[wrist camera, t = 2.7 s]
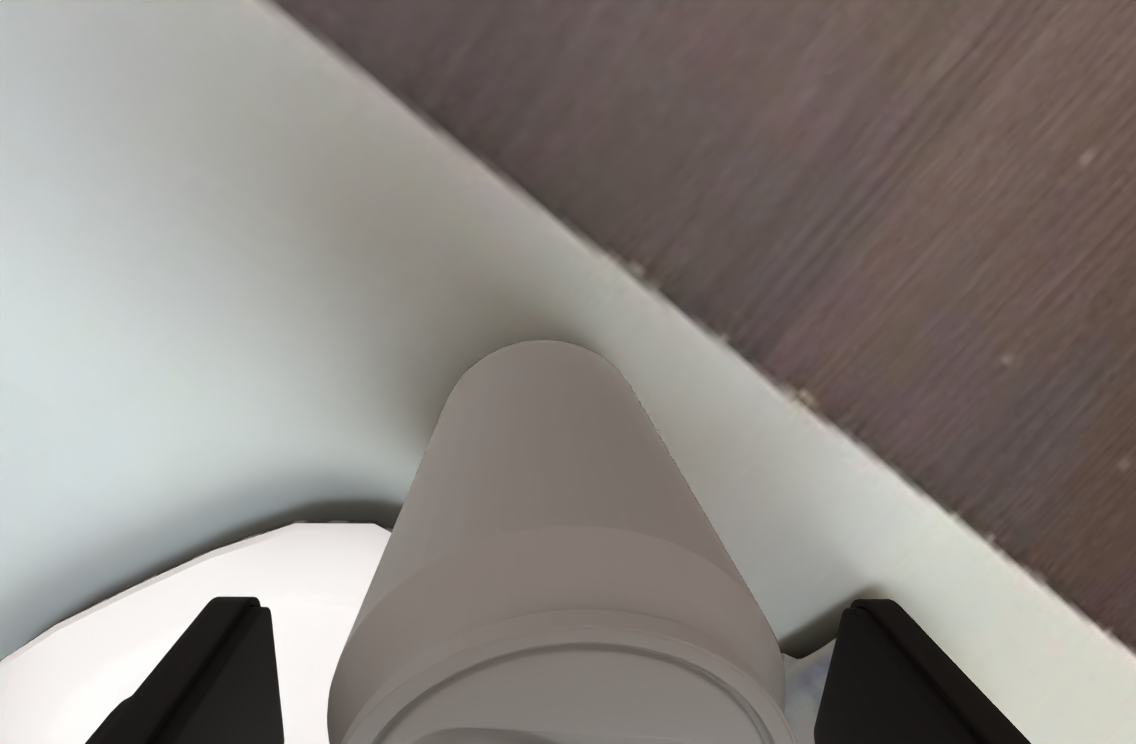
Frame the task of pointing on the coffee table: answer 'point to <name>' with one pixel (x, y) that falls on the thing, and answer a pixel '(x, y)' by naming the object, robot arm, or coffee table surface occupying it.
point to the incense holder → (805, 690)
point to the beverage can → (555, 582)
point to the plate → (171, 603)
